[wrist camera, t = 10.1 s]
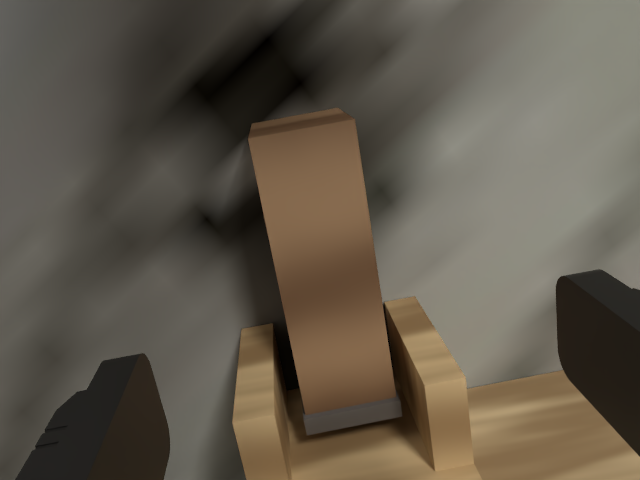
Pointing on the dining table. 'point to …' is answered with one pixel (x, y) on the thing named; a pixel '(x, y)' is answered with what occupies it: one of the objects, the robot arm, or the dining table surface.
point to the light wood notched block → (425, 421)
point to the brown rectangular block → (325, 267)
